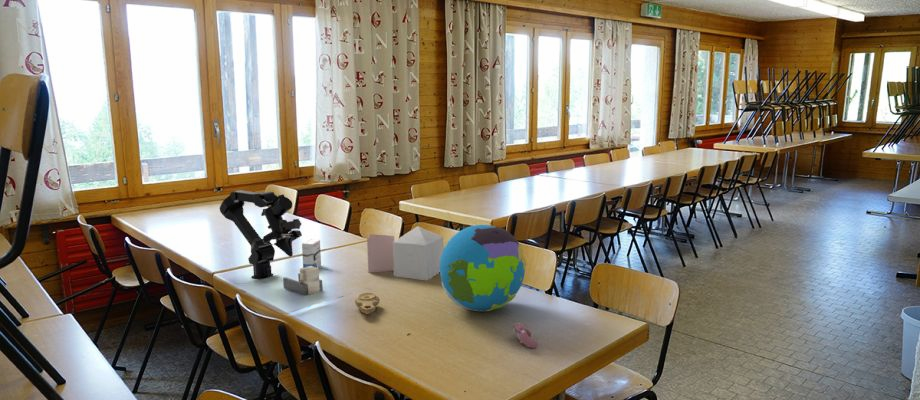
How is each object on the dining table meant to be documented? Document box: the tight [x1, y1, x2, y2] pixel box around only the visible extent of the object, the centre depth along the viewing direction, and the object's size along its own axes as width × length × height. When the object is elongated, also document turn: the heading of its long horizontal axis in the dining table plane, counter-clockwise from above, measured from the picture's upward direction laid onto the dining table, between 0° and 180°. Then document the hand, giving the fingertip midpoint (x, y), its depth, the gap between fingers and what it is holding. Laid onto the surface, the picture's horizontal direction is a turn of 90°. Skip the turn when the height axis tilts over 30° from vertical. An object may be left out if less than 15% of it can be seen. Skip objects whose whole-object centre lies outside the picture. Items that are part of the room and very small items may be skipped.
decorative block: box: [393, 226, 444, 281], centre depth 256 cm, size 16×16×20 cm
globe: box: [439, 224, 527, 312], centre depth 212 cm, size 30×30×30 cm
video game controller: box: [512, 322, 538, 349], centre depth 187 cm, size 10×5×7 cm, turn 6°
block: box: [299, 266, 321, 296], centre depth 231 cm, size 5×5×9 cm
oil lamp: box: [354, 292, 381, 315], centre depth 214 cm, size 11×14×5 cm
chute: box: [282, 272, 323, 296], centre depth 235 cm, size 14×8×5 cm, turn 49°
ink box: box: [301, 238, 322, 268], centre depth 265 cm, size 8×5×12 cm, turn 168°
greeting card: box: [366, 233, 395, 273], centre depth 260 cm, size 11×7×15 cm, turn 71°
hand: (291, 256), depth 241 cm, fingers closed
